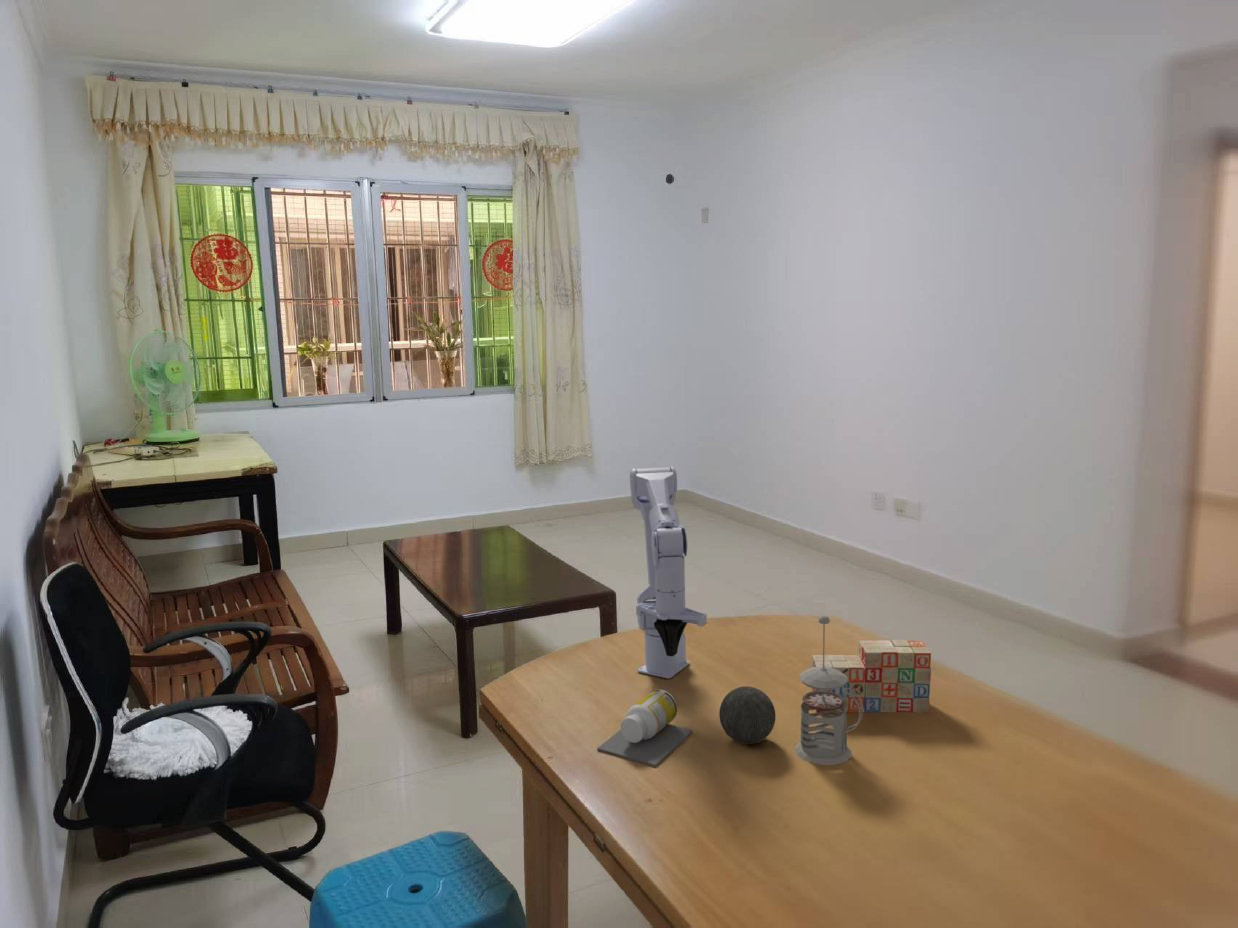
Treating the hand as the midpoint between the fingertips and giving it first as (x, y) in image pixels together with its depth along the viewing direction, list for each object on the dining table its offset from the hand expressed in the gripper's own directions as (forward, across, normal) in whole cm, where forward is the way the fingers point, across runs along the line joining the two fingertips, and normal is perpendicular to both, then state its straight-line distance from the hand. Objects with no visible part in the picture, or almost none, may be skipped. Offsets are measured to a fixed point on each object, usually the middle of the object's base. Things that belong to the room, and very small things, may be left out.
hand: (671, 654), depth 175 cm
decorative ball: (+10, +19, -7) cm, 23 cm away
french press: (+10, +33, -4) cm, 35 cm away
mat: (+10, +3, -16) cm, 19 cm away
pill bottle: (+7, +2, -8) cm, 10 cm away
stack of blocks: (+11, +34, +17) cm, 40 cm away
